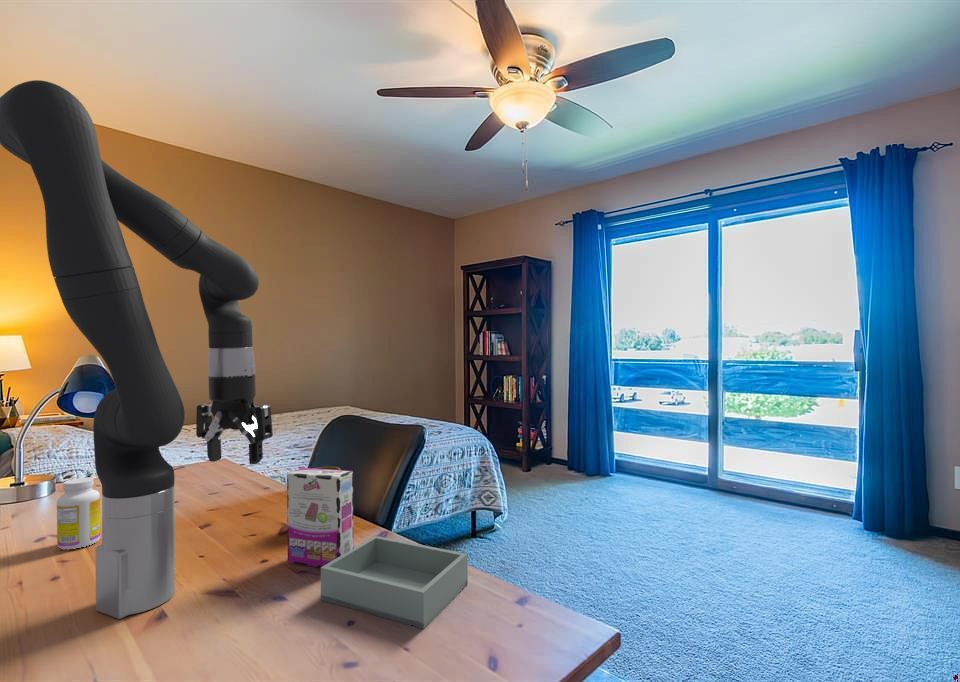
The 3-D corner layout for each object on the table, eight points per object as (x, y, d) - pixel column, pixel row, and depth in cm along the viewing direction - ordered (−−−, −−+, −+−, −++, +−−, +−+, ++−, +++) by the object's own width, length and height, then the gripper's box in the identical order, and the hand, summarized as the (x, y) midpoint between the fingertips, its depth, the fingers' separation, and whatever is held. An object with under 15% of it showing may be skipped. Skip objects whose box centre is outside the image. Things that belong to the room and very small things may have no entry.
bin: (423, 628, 67) (423, 592, 67) (320, 599, 75) (320, 567, 75) (467, 584, 79) (467, 553, 79) (375, 563, 87) (375, 535, 87)
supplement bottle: (95, 535, 102) (95, 474, 102) (104, 543, 97) (104, 479, 97) (53, 545, 96) (53, 481, 96) (61, 554, 92) (60, 487, 92)
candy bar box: (355, 559, 89) (354, 470, 89) (339, 571, 84) (339, 477, 84) (303, 552, 92) (303, 466, 92) (285, 563, 88) (285, 472, 88)
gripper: (182, 374, 85) (185, 465, 86) (251, 375, 82) (254, 470, 82) (215, 370, 92) (218, 454, 93) (279, 370, 89) (282, 458, 90)
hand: (235, 461), depth 88 cm, fingers open, 8 cm apart
